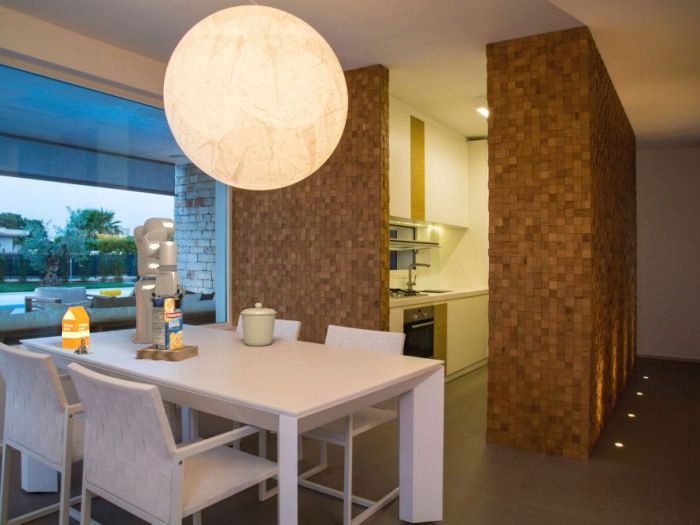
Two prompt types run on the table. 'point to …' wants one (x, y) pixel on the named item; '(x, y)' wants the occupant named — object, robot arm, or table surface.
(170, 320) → the beverage box
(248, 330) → the canister
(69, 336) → the orange juice
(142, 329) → the robot arm
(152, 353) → the tan flat block
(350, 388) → the table surface
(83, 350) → the house of cards
